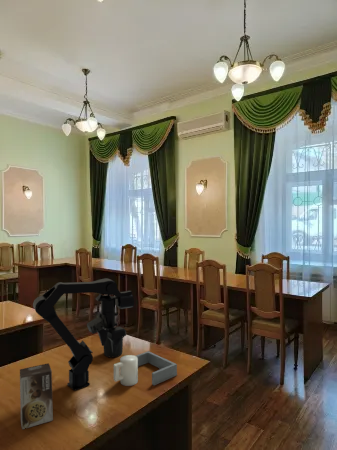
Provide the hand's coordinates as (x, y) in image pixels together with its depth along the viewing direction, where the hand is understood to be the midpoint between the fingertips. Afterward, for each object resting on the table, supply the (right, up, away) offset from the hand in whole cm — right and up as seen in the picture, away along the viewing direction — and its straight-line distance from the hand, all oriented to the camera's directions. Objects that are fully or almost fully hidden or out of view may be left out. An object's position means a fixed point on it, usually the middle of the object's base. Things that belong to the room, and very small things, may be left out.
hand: (108, 349), depth 130 cm
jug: (+8, -12, -4) cm, 14 cm away
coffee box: (-18, -12, -27) cm, 35 cm away
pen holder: (-2, -12, +24) cm, 26 cm away
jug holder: (+17, -11, +4) cm, 21 cm away
